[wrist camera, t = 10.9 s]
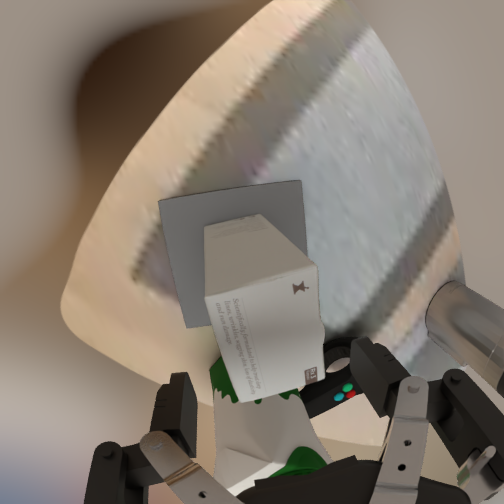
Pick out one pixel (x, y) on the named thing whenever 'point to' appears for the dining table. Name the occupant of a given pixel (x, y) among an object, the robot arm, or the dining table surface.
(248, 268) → the skincare box
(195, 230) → the mat
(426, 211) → the dining table surface
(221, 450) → the milk carton
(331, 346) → the controller
